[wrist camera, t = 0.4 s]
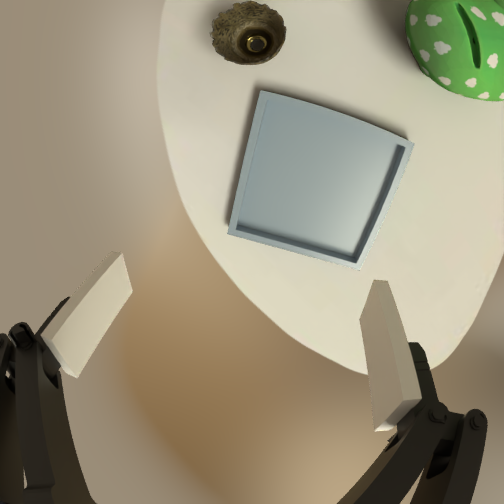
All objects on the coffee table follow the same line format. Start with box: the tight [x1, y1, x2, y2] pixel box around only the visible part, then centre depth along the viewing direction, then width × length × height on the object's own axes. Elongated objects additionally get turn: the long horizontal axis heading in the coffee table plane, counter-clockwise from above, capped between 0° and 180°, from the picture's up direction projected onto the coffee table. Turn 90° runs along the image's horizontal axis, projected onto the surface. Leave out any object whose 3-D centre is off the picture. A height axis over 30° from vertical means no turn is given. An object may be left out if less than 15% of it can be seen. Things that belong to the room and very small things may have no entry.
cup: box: [210, 1, 286, 65], centre depth 24 cm, size 8×7×8 cm
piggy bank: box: [405, 0, 504, 101], centre depth 15 cm, size 14×18×15 cm
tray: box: [227, 90, 414, 271], centre depth 35 cm, size 20×20×2 cm
